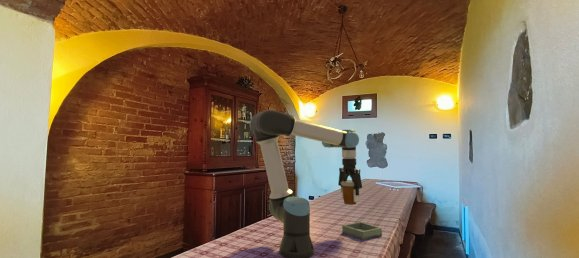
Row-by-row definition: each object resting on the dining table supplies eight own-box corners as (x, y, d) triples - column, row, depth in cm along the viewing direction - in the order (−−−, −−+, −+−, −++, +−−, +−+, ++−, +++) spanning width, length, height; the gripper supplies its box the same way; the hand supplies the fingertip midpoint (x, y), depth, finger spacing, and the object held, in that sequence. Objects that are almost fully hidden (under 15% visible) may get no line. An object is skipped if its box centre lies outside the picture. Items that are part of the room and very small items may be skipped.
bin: (362, 240, 147) (362, 232, 147) (342, 232, 160) (342, 225, 160) (381, 235, 154) (381, 228, 155) (360, 228, 167) (360, 221, 167)
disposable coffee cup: (359, 205, 152) (359, 182, 153) (341, 205, 154) (340, 182, 155) (358, 202, 162) (358, 180, 162) (341, 201, 163) (340, 180, 164)
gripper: (368, 158, 152) (370, 202, 151) (340, 157, 170) (341, 196, 169) (358, 158, 148) (359, 204, 147) (331, 157, 166) (331, 198, 165)
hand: (350, 200), depth 158 cm, fingers closed on disposable coffee cup, 8 cm apart
